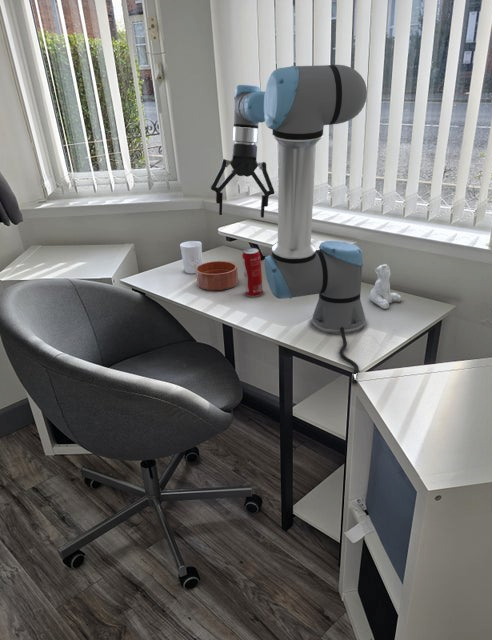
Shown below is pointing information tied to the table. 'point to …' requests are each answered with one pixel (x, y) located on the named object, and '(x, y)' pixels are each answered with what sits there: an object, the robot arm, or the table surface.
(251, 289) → the beverage can
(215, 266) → the bowl
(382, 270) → the sitting furry creature
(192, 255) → the white cup
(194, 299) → the table surface
